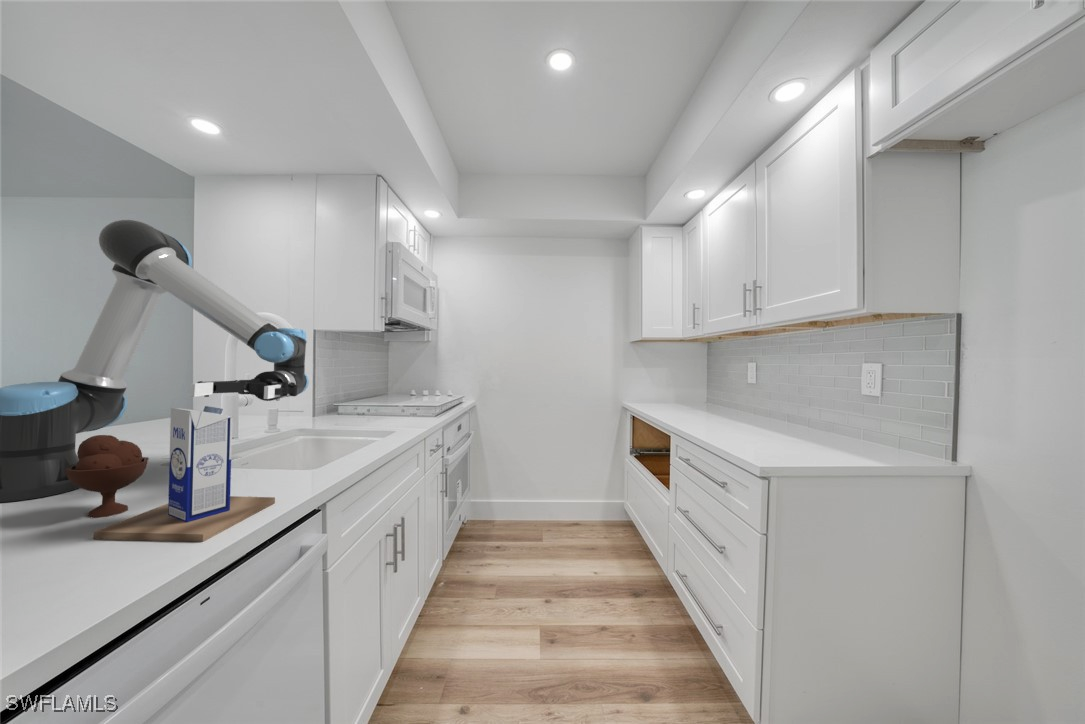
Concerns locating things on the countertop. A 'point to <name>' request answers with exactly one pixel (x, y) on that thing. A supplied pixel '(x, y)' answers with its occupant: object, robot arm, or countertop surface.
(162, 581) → the countertop surface
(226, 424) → the milk carton
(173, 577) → the countertop surface
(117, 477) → the ice cream bowl
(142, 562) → the countertop surface
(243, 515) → the walnut board
